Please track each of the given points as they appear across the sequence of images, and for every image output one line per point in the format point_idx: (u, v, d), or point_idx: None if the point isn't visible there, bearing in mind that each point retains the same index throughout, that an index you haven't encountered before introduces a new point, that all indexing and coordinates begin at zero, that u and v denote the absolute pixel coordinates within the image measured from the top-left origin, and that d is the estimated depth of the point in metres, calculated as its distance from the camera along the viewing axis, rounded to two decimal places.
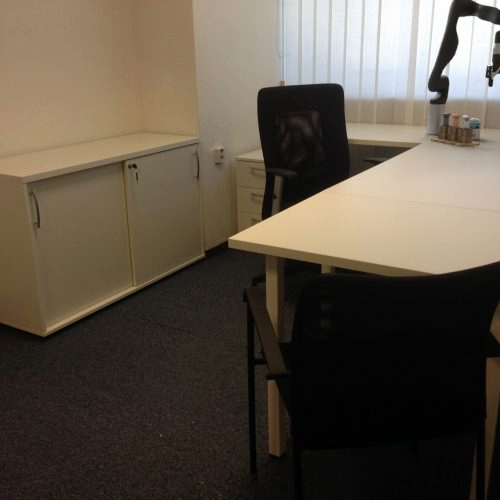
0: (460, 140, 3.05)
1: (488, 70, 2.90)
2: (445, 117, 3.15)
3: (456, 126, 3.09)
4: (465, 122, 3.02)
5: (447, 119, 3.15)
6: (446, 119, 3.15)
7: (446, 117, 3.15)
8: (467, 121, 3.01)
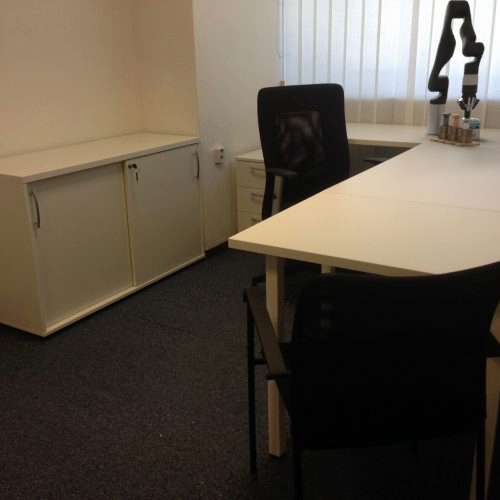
0: (460, 140, 3.05)
1: (460, 105, 2.98)
2: (445, 117, 3.15)
3: (456, 126, 3.09)
4: (465, 124, 3.02)
5: (447, 119, 3.15)
6: (446, 119, 3.15)
7: (446, 117, 3.15)
8: (467, 123, 3.02)
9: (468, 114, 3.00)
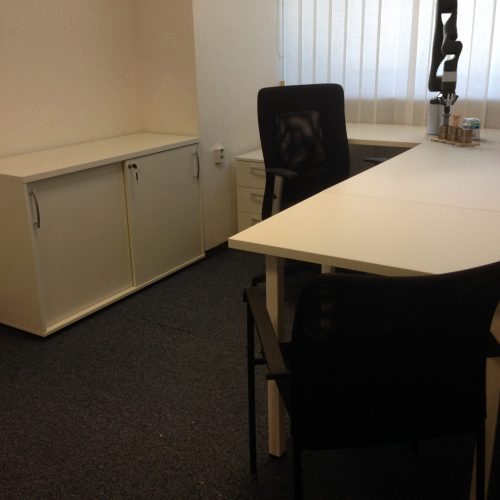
0: (460, 140, 3.05)
1: (440, 100, 3.12)
2: (445, 117, 3.15)
3: (456, 126, 3.09)
4: None
5: (447, 119, 3.16)
6: (446, 119, 3.15)
7: (446, 117, 3.15)
8: (466, 129, 3.02)
9: (448, 109, 3.14)
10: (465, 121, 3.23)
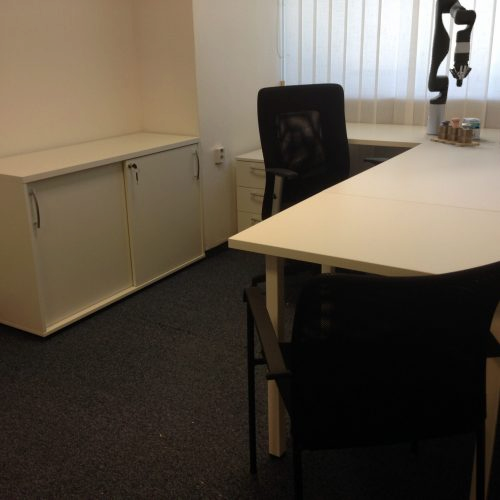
0: (460, 140, 3.05)
1: (453, 73, 3.00)
2: (444, 125, 3.17)
3: None
4: None
5: None
6: None
7: (445, 125, 3.16)
8: (466, 129, 3.02)
9: (460, 82, 3.02)
10: (465, 121, 3.23)
